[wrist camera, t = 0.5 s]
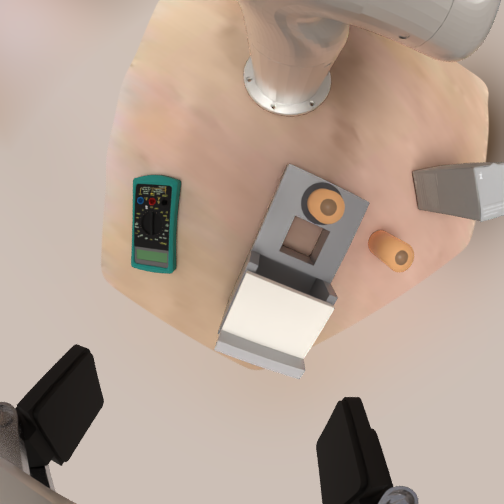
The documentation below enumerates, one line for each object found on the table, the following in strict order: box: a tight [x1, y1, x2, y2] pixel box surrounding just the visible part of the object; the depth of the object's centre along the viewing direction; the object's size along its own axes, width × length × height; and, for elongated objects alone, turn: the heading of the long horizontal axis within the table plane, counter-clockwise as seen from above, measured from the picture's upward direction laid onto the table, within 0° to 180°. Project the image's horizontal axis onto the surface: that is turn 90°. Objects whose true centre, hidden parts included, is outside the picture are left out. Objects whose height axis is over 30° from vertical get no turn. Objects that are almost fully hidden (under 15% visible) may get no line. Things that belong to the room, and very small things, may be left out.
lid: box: [214, 270, 335, 379], centre depth 33 cm, size 10×12×4 cm
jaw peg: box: [368, 230, 414, 272], centre depth 36 cm, size 4×4×8 cm
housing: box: [218, 164, 369, 334], centre depth 37 cm, size 24×12×9 cm, turn 157°
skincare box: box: [412, 162, 504, 222], centre depth 29 cm, size 8×7×16 cm
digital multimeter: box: [131, 175, 181, 274], centre depth 40 cm, size 7×15×3 cm, turn 173°
